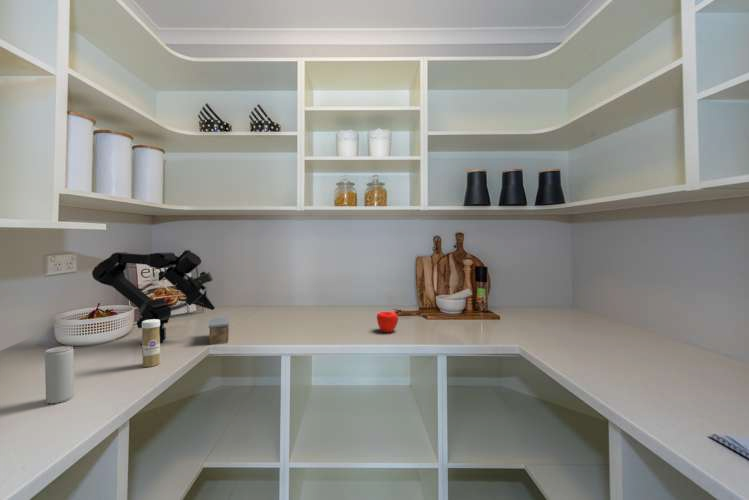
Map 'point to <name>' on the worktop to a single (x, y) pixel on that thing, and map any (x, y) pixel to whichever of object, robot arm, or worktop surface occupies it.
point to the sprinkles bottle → (150, 342)
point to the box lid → (219, 322)
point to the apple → (387, 321)
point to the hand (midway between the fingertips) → (213, 308)
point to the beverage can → (59, 374)
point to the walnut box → (219, 335)
